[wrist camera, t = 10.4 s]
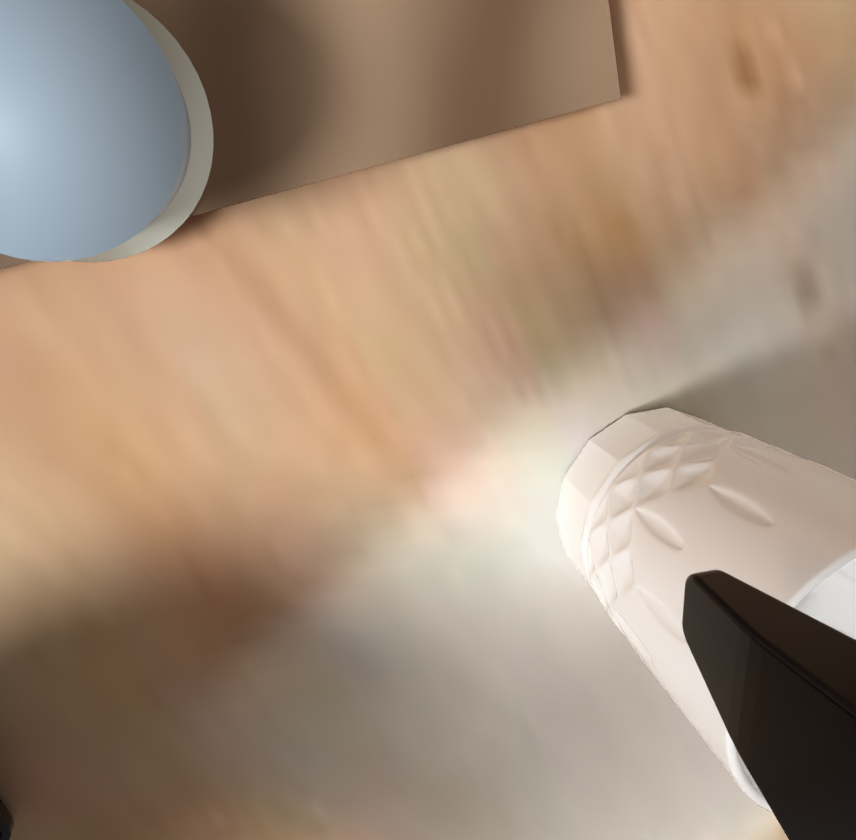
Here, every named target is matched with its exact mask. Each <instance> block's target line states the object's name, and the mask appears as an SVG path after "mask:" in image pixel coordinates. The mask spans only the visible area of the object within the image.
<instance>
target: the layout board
mask: <svg viewBox="0 0 856 840" xmlns="http://www.w3.org/2000/svg"><path fill="white" fill-rule="evenodd" d="M122 1H123V2H124V3H125V4H126V5H127V6H128V7H129V8H130V9H131V10H132V11H133V12H134V13H135V14H136V16H137V17H138V18H139V19H140V20H141V21H142V22H143V23H144V25H145V26H146V28H147V29H148V30H149V32H150V33H151V35H152V36H153V37H154V39H155V40H156V42H157V43H158V45H159V47H160V49H161V51H162V53H163V54H164V56H165V58H166V60H167V62H168V64H169V66H170V68H171V70H172V72H173V74H174V76H175V79H176V81H177V83H178V85H179V87H180V90H181V92H182V95H183V97H184V100H185V103H186V107H187V111H188V114H189V121H190V127H191V151H190V160H189V164H188V168H187V172H186V175H185V177H184V180H183V182H182V185H181V187H180V189H179V190H178V192H177V194H176V196H175V197H174V199H173V200H172V201H171V202H170V204H169V205H168V206H167V208H166V209H165V210H164V211H163V212H162V213H160V214H159V215H158V216H157V217H156V218H155V219H154V220H153V221H152V222H151V223H149V224H148V225H147V226H146V227H145V228H144V229H143V230H141V231H140V232H139V233H138V234H136V235H135V236H133V237H132V238H131V239H129V240H128V241H126V242H125V243H123V244H121V245H119V246H117V247H115V248H113V249H111V250H109V251H106V252H103V253H101V254H98V255H95V256H92V257H87V258H82V259H77V260H70V261H74V262H105V261H113V260H118V259H122V258H127V257H130V256H133V255H136V254H138V253H141V252H144V251H146V250H148V249H150V248H152V247H153V246H155V245H157V244H159V243H160V242H162V241H163V240H165V239H166V238H167V237H169V236H170V235H171V234H173V233H174V232H175V231H176V230H177V229H178V228H179V227H180V226H181V225H182V224H183V223H184V222H185V220H186V219H187V218H188V217H191V216H195V215H198V214H202V213H206V212H209V211H213V210H217V209H220V208H224V207H228V206H231V205H235V204H238V203H242V202H246V201H249V200H253V199H257V198H260V197H264V196H268V195H271V194H275V193H278V192H282V191H286V190H289V189H293V188H297V187H300V186H304V185H308V184H311V183H315V182H318V181H322V180H326V179H329V178H333V177H337V176H340V175H344V174H348V173H351V172H355V171H358V170H362V169H366V168H369V167H373V166H377V165H380V164H384V163H388V162H391V161H395V160H398V159H402V158H406V157H409V156H413V155H417V154H420V153H424V152H428V151H431V150H435V149H438V148H442V147H446V146H449V145H453V144H457V143H460V142H464V141H468V140H471V139H475V138H478V137H482V136H486V135H489V134H493V133H497V132H500V131H504V130H508V129H511V128H515V127H519V126H522V125H526V124H529V123H533V122H537V121H540V120H544V119H548V118H551V117H555V116H559V115H562V114H566V113H569V112H573V111H577V110H580V109H584V108H588V107H591V106H595V105H599V104H602V103H606V102H609V101H613V100H617V99H620V98H621V97H620V89H619V81H618V73H617V65H616V57H615V49H614V41H613V33H612V25H611V16H610V8H609V0H122ZM27 261H31V260H27V259H21V258H15V257H11V256H8V255H4V254H1V253H0V269H2V268H6V267H9V266H13V265H17V264H20V263H24V262H27Z"/></svg>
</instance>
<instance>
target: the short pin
mask: <svg viewBox="0 0 856 840" xmlns="http://www.w3.org/2000/svg"><path fill="white" fill-rule="evenodd" d="M190 151H191V127H190V121H189V114H188V111H187V107H186V103H185V100H184V97H183V95H182V92H181V90H180V87H179V85H178V83H177V81H176V79H175V76H174V74H173V72H172V70H171V68H170V66H169V64H168V62H167V60H166V58H165V56H164V54H163V53H162V51H161V49H160V47H159V45H158V43H157V42H156V40H155V39H154V37H153V36H152V35H151V33H150V32H149V30H148V29H147V28H146V26H145V25H144V23H143V22H142V21H141V20H140V19H139V18H138V17H137V16H136V14H135V13H134V12H133V11H132V10H131V9H130V8H129V7H128V6H127V5H126V4H125V3H124V2H123V1H122V0H0V253H1V254H4V255H8V256H11V257H15V258H21V259H27V260H33V261H50V262H58V261H70V260H77V259H82V258H87V257H92V256H95V255H98V254H101V253H103V252H106V251H109V250H111V249H113V248H115V247H117V246H119V245H121V244H123V243H125V242H126V241H128V240H129V239H131V238H132V237H133V236H135V235H136V234H138V233H139V232H140V231H141V230H143V229H144V228H145V227H146V226H147V225H148V224H149V223H151V222H152V221H153V220H154V219H155V218H156V217H157V216H158V215H159V214H160V213H162V212H163V211H164V210H165V209H166V208H167V206H168V205H169V204H170V202H171V201H172V200H173V199H174V197H175V196H176V194H177V192H178V190H179V189H180V187H181V185H182V182H183V180H184V177H185V175H186V172H187V168H188V164H189V160H190Z"/></svg>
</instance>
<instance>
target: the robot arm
mask: <svg viewBox="0 0 856 840" xmlns="http://www.w3.org/2000/svg"><path fill="white" fill-rule="evenodd" d="M682 626H683V632H684V636H685V639H686V642H687V644H688V646H689V648H690V651H691V653H692V655H693V657H694V659H695V662H696V664H697V666H698V668H699V670H700V672H701V675H702V677H703V679H704V681H705V683H706V686H707V688H708V690H709V692H710V694H711V697H712V699H713V701H714V703H715V705H716V707H717V710H718V712H719V714H720V716H721V718H722V721H723V723H724V725H725V727H726V729H727V731H728V733H729V736H730V738H731V740H732V742H733V744H734V746H735V748H736V750H737V751H738V753H739V755H740V757H741V759H742V760H743V762H744V764H745V766H746V768H747V769H748V771H749V773H750V774H751V776H752V778H753V779H754V781H755V783H756V785H757V786H758V788H759V790H760V791H761V793H762V795H763V796H764V798H765V800H766V801H767V803H768V805H769V807H770V808H771V810H772V812H773V813H774V815H775V817H776V818H777V820H778V822H779V823H780V825H781V827H782V829H783V830H784V832H785V834H786V835H787V837H788V839H789V840H856V640H855V639H853V638H851V637H849V636H847V635H846V634H844V633H842V632H840V631H838V630H836V629H834V628H832V627H830V626H828V625H826V624H824V623H822V622H820V621H818V620H817V619H815V618H813V617H811V616H809V615H807V614H805V613H803V612H801V611H799V610H797V609H795V608H793V607H791V606H789V605H788V604H786V603H784V602H782V601H780V600H778V599H776V598H774V597H772V596H770V595H768V594H766V593H764V592H762V591H760V590H759V589H757V588H755V587H753V586H751V585H749V584H747V583H745V582H743V581H741V580H739V579H737V578H735V577H733V576H731V575H729V574H728V573H726V572H723V571H721V570H709V571H704V572H698V573H693V574H691V575H689V576H688V577H687V579H686V582H685V591H684V604H683V617H682ZM13 826H14V821H13V818H12V816H11V815H10V814H9V812H8V811H7V809H6V808H5V806H4V805H3V803H2V802H1V800H0V840H9V839H10V836H11V833H12V829H13Z"/></svg>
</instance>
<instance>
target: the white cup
mask: <svg viewBox="0 0 856 840" xmlns="http://www.w3.org/2000/svg"><path fill="white" fill-rule="evenodd" d="M555 519H556V523H557V526H558V530H559V534H560V537H561V541H562V545H563V548H564V552H565V554H566V556H567V557H568V558H569V560H570V561H571V562H572V563H573V565H574V566H575V567H576V568H577V570H578V571H579V572H580V573H581V575H582V576H583V577H584V578H585V580H586V581H587V582H588V583H589V585H590V586H591V587H592V588H593V590H594V591H595V592H596V594H597V596H598V598H599V600H600V601H601V603H602V605H603V607H604V608H605V610H606V612H607V613H608V615H609V616H610V617H611V619H612V620H613V621H614V623H615V624H616V625H617V627H618V628H619V629H620V631H621V632H622V633H623V634H624V636H625V637H626V638H627V639H628V641H629V643H630V644H631V646H632V647H633V649H634V650H635V651H636V653H637V654H638V656H639V657H640V658H641V660H642V661H643V662H644V664H645V665H646V666H647V668H648V669H649V670H650V672H651V673H652V674H653V676H654V677H655V678H656V679H657V681H658V682H659V683H660V684H661V686H662V687H663V688H664V690H665V691H666V692H667V693H668V695H669V696H670V697H671V699H672V700H673V701H674V702H675V704H676V705H677V706H678V708H679V709H680V710H681V711H682V713H683V714H684V715H685V717H686V718H687V719H688V720H689V722H690V723H691V724H692V726H693V727H694V728H695V729H696V731H697V732H698V733H699V735H700V736H701V737H702V738H703V740H704V741H705V742H706V744H707V745H708V746H709V747H710V749H711V750H712V751H713V753H714V754H715V755H716V757H717V758H718V759H719V760H720V762H721V763H722V764H723V766H724V767H725V768H726V770H727V771H728V772H729V773H730V775H731V776H732V777H733V779H734V780H735V781H736V783H737V784H738V785H739V787H740V788H741V789H742V790H743V792H744V793H745V794H746V795H747V796H748V797H749V798H750V799H751V800H753V801H754V802H755V803H757V804H758V805H759V806H761V807H763V808H765V809H767V810H769V811H771V812H772V810H771V808H770V807H769V805H768V803H767V801H766V800H765V798H764V796H763V795H762V793H761V791H760V790H759V788H758V786H757V785H756V783H755V781H754V779H753V778H752V776H751V774H750V773H749V771H748V769H747V768H746V766H745V764H744V762H743V760H742V759H741V757H740V755H739V753H738V751H737V750H736V748H735V746H734V744H733V742H732V740H731V738H730V736H729V733H728V731H727V729H726V727H725V725H724V723H723V721H722V718H721V716H720V714H719V712H718V710H717V707H716V705H715V703H714V701H713V699H712V697H711V694H710V692H709V690H708V688H707V686H706V683H705V681H704V679H703V677H702V675H701V672H700V670H699V668H698V666H697V664H696V662H695V659H694V657H693V655H692V653H691V651H690V648H689V646H688V644H687V642H686V639H685V636H684V632H683V626H682V617H683V604H684V591H685V582H686V579H687V577H688V576H689V575H691V574H693V573H698V572H704V571H709V570H721V571H723V572H726V573H728V574H729V575H731V576H733V577H735V578H737V579H739V580H741V581H743V582H745V583H747V584H749V585H751V586H753V587H755V588H757V589H759V590H760V591H762V592H764V593H766V594H768V595H770V596H772V597H774V598H776V599H778V600H780V601H782V602H784V603H786V604H788V605H789V606H791V607H793V608H795V609H797V610H799V611H801V612H803V613H805V614H807V615H809V616H811V617H813V618H815V619H817V620H818V621H820V622H822V623H824V624H826V625H828V626H830V627H832V628H834V629H836V630H838V631H840V632H842V633H844V634H846V635H847V636H849V637H851V638H853V639H855V640H856V480H855V479H853V478H850V477H848V476H846V475H844V474H841V473H839V472H837V471H835V470H832V469H830V468H828V467H826V466H823V465H821V464H819V463H816V462H813V461H810V460H807V459H804V458H801V457H799V456H797V455H795V454H792V453H790V452H788V451H786V450H783V449H781V448H779V447H776V446H774V445H771V444H767V443H764V442H762V441H760V440H758V439H756V438H754V437H751V436H749V435H746V434H744V433H741V432H736V431H728V430H726V429H724V428H722V427H719V426H717V425H715V424H713V423H711V422H708V421H706V420H704V419H701V418H698V417H695V416H692V415H689V414H686V413H683V412H680V411H677V410H674V409H671V408H668V407H665V408H659V409H654V410H648V411H643V412H637V413H632V414H627V415H625V416H623V417H622V418H620V419H619V420H617V421H616V422H614V423H613V424H611V425H610V426H608V427H607V428H605V429H604V430H602V431H601V432H600V433H598V434H597V435H595V436H594V437H592V438H591V439H589V441H588V442H587V443H586V445H585V446H584V448H583V449H582V451H581V452H580V454H579V455H578V456H577V458H576V459H575V461H574V462H573V464H572V465H571V467H570V468H569V470H568V471H567V472H566V474H565V475H564V478H563V482H562V487H561V492H560V497H559V501H558V506H557V511H556V516H555Z"/></svg>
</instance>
